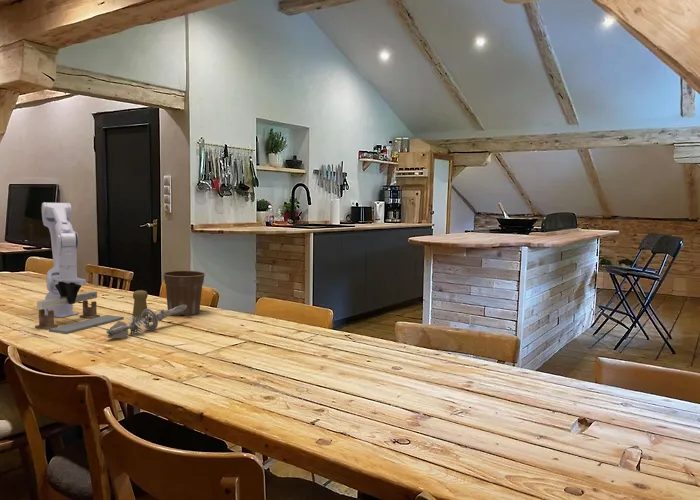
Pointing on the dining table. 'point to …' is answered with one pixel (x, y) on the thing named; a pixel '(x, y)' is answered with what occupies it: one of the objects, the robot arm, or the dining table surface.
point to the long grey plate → (85, 324)
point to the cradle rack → (48, 321)
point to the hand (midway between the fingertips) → (68, 303)
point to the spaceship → (142, 322)
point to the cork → (139, 302)
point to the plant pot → (184, 290)
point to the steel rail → (65, 300)
